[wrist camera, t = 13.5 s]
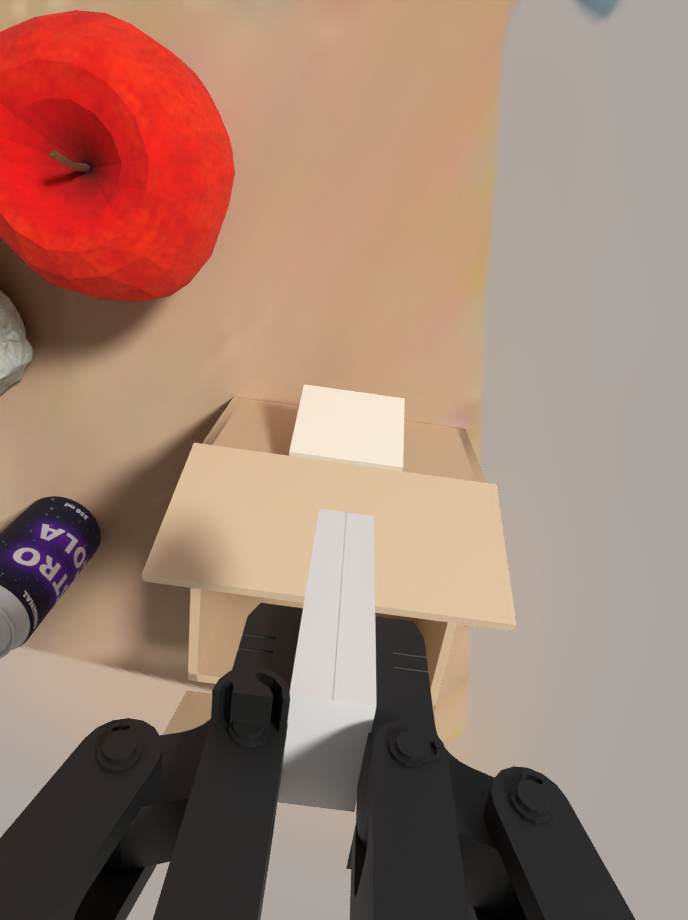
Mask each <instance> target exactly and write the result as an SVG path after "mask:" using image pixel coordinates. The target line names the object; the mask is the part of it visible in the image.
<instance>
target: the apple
mask: <svg viewBox="0 0 688 920" xmlns="http://www.w3.org/2000/svg"><path fill="white" fill-rule="evenodd" d="M234 175H235V170H234V162H233V153H232V147H231V143H230V139H229V136H228V133H227V131H226V128H225V126H224V124H223V121H222V119H221V116H220V114H219V112H218V109H217V108H216V106H215V104H214V102H213V100H212V98H211V96H210V94H209V92H208V91H207V89H206V88H205V86H204V85H203V83H202V82H201V81H200V79H199V78H198V76H197V75H196V73H195V72H193V71H192V70H191V69H190V68H189V67H188V66H187V65H186V64H185V63H184V62H183V61H182V60H180V59H179V58H178V57H177V56H176V55H175V54H173V53H172V52H171V51H169V50H168V49H167V48H165V47H164V46H162V45H161V44H159V43H158V42H156V41H155V40H153V39H152V38H151V37H149V36H148V35H146V34H145V33H143V32H142V31H140V30H139V29H137V28H136V27H135V26H133V25H132V24H129V23H127V22H125V21H123V20H120V19H118V18H116V17H114V16H111V15H109V14H107V13H100V12H89V11H78V10H75V11H69V12H63V13H57V14H51V15H44V16H39V17H34V18H31V19H29V20H27V21H25V22H22V23H20V24H18V25H15V26H13V27H11V28H8V29H6V30H4V31H1V32H0V237H1V239H2V240H3V241H4V242H5V243H6V244H7V245H8V246H9V247H10V248H11V249H12V250H13V251H14V252H15V253H16V254H17V255H18V256H19V257H20V258H21V259H22V260H23V261H24V262H25V263H26V264H27V265H28V266H29V267H30V268H31V269H32V270H33V271H34V272H36V273H37V274H39V275H40V276H42V277H43V278H44V279H46V280H47V281H49V282H50V283H52V284H53V285H55V286H58V287H62V288H65V289H68V290H71V291H74V292H78V293H81V294H84V295H87V296H91V297H94V298H97V299H103V300H119V301H144V300H151V299H156V298H162V297H167V296H171V295H172V294H174V293H175V292H177V291H178V290H180V289H181V288H183V287H184V286H186V285H187V284H189V283H190V282H191V280H192V279H193V278H194V277H195V275H196V274H197V273H198V272H199V270H200V269H201V268H202V267H203V265H204V264H205V263H206V262H207V261H208V259H209V258H210V256H211V255H212V252H213V250H214V247H215V244H216V241H217V238H218V235H219V232H220V229H221V226H222V224H223V221H224V218H225V215H226V212H227V209H228V206H229V202H230V196H231V191H232V186H233V181H234Z"/></svg>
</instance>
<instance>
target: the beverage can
mask: <svg viewBox="0 0 688 920" xmlns="http://www.w3.org/2000/svg"><path fill="white" fill-rule="evenodd" d="M100 540H101V533H100V528H99V525H98V523H97V521H96V519H95V518H94V516H93V515H92V514H91V513H90V512H89V511H88V510H87V509H86V508H85V507H83V506H82V505H81V504H79V503H77V502H75V501H73V500H70V499H67V498H63V497H46V498H43V499H40V500H38V501H36V502H35V503H34V504H32V505H31V506H30V507H29V508H28V509H27V510H26V511H25V512H24V513H22V514H21V515H20V516H19V517H18V518H17V519H16V520H15V521H14V522H13V523H12V524H10V525H9V526H8V527H7V528H6V529H5V530H4V531H3V532H2V533H1V534H0V658H1V657H3V656H5V655H6V654H8V653H9V652H10V651H11V650H13V649H15V648H17V647H19V646H21V645H22V644H24V643H25V642H26V641H27V640H28V638H29V637H30V636H31V635H32V633H33V632H34V631H35V629H36V628H37V627H38V625H39V624H40V623H41V622H42V620H43V619H44V618H45V616H46V615H47V614H48V613H49V611H50V610H51V609H52V607H53V606H54V605H55V604H56V602H57V601H58V600H59V598H60V597H61V596H62V594H63V593H64V592H65V591H66V589H67V588H68V587H69V585H70V584H71V583H72V582H73V580H74V579H75V578H76V576H77V575H78V574H79V573H80V571H81V570H82V569H83V567H84V566H85V565H86V563H87V562H88V561H89V560H90V558H91V557H92V556H93V554H94V553H95V552H96V550H97V549H98V547H99V544H100Z"/></svg>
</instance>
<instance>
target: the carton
mask: <svg viewBox="0 0 688 920" xmlns="http://www.w3.org/2000/svg"><path fill="white" fill-rule="evenodd" d="M298 410H299V406H296V405H289V404H282V403H275V402H268V401H260V400H253V399H246V398H239V397H233V399H232V400H231V402H230V403H229V405H228V406H227V407H226V409H225V410H224V412H223V413H222V415H221V416H220V418H219V419H218V421H217V422H216V424H215V425H214V426H213V428H212V429H211V431H210V432H209V434H208V435H207V437H206V438H205V440H204V441H203V443H202V444H207V445H215V446H222V447H229V448H236V449H243V450H251V451H258V452H265V453H272V454H280V455H287V456H289V450H290V446H291V441H292V437H293V432H294V428H295V423H296V419H297V414H298ZM402 471H403V472H410V473H417V474H424V475H432V476H439V477H446V478H453V479H461V480H468V481H475V482H482V483H487V481H486V479H485V476H484V474H483V471H482V469H481V466H480V464H479V462H478V459H477V457H476V454H475V452H474V449H473V447H472V444H471V442H470V439H469V437H468V434H467V432H466V429H461V428H454V427H447V426H440V425H432V424H425V423H418V422H411V421H404V452H403V470H402ZM260 603H267V604H275V605H282V606H290V607H298V608H303V606H304V603H300V602H292V601H285V600H278V599H270V598H263V597H255V596H248V595H240V594H233V593H225V592H218V591H211V590H203V589H196V588H191V590H190V622H189V654H188V680H190V681H197V682H205V683H212V684H216V683H217V681H218V680H219V679H220V678H221V677H222V676H224V675H225V674H226V673H228V672H229V671H231V670H232V668H233V665H234V661H235V658H236V654H237V651H238V648H239V644H240V640H241V637H242V634H243V630H244V627H245V623H246V620H247V616H248V615H249V614H250V613H251V612H252V611H253V610H254V609H255V608H256V607H257V606H258V605H259V604H260ZM375 616H376V617H384V618H391V619H399V620H406V621H413V622H414V623H415V625H416V626H417V628H418V629H419V631H420V632H421V634H422V635H423V637H424V641H425V649H426V659H427V665H428V674H429V681H430V689H431V697H432V705H433V713H434V711H435V708H436V704H437V700H438V696H439V692H440V689H441V685H442V681H443V677H444V674H445V670H446V666H447V662H448V659H449V655H450V651H451V647H452V644H453V640H454V636H455V632H456V628H457V625H458V624H456V623H449V622H441V621H434V620H427V619H419V618H412V617H404V616H397V615H389V614H382V613H375Z"/></svg>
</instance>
